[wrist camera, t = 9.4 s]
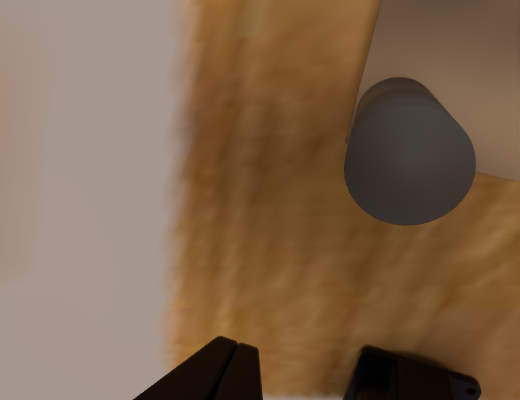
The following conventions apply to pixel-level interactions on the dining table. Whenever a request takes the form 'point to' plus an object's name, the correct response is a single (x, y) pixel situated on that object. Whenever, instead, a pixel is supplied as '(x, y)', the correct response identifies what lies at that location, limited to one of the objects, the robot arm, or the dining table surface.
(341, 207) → the dining table surface
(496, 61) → the square plate with pegs
